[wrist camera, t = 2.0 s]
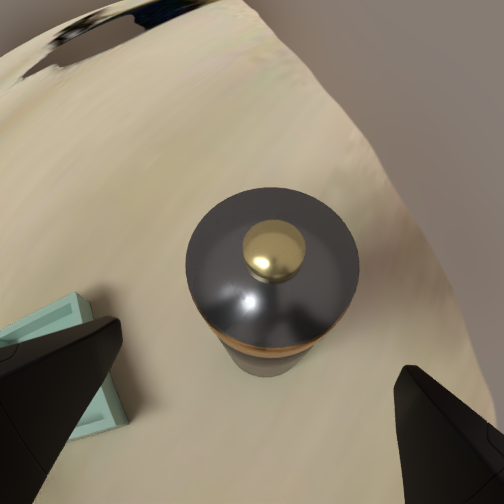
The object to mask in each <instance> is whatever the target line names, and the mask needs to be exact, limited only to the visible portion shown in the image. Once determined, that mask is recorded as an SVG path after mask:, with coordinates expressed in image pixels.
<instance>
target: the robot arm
mask: <svg viewBox="0 0 504 504" xmlns="http://www.w3.org/2000/svg"><path fill="white" fill-rule="evenodd" d="M122 342H123V338H122V330H121V322H120V320H119V319H118V318H116V317H112V316H105V317H102V318H98V319H95V320H92V321H89V322H85V323H82V324H79V325H76V326H72V327H69V328H66V329H62V330H59V331H56V332H53V333H49V334H46V335H43V336H39V337H36V338H33V339H29V340H26V341H22V342H20V343H15V344H12V345H9V346H5V347H1V348H0V504H32V503H33V502H34V500H35V498H36V496H37V494H38V492H39V490H40V489H41V487H42V485H43V483H44V481H45V479H46V478H47V475H48V474H49V472H50V470H51V468H52V467H53V465H54V463H55V461H56V459H57V458H58V456H59V454H60V453H61V451H62V449H63V447H64V446H65V444H66V442H67V441H68V439H69V437H70V436H71V434H72V432H73V431H74V429H75V427H76V426H77V424H78V422H79V421H80V419H81V417H82V416H83V414H84V412H85V411H86V409H87V408H88V406H89V404H90V403H91V401H92V400H93V398H94V396H95V395H96V393H97V392H98V390H99V388H100V387H101V385H102V384H103V382H104V380H105V378H106V376H107V375H108V372H109V370H110V368H111V366H112V364H113V362H114V360H115V358H116V356H117V354H118V352H119V350H120V348H121V346H122ZM394 405H395V422H396V434H397V441H398V447H399V454H400V462H401V470H402V478H403V487H404V498H405V504H504V434H502V433H501V432H500V431H498V430H497V429H496V428H495V427H493V426H492V425H491V424H490V423H487V421H486V420H485V419H483V418H482V417H481V416H480V415H478V414H477V413H476V412H475V411H473V410H472V409H471V408H470V407H468V406H467V405H466V404H465V403H463V402H462V401H461V400H460V399H458V398H457V397H456V396H455V395H453V394H452V393H451V392H450V391H448V390H447V389H446V388H445V387H443V386H442V385H441V384H440V383H438V382H437V381H436V380H435V379H433V378H432V377H431V376H429V375H428V374H427V373H426V372H424V371H423V370H422V369H421V368H419V367H418V366H416V365H405V366H404V367H403V368H402V370H401V372H400V374H399V376H398V379H397V381H396V383H395V385H394Z"/></svg>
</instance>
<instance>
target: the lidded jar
mask: <svg viewBox="0 0 504 504" xmlns="http://www.w3.org/2000/svg"><path fill="white" fill-rule="evenodd" d="M186 276H187V282H188V286H189V290H190V293H191V296H192V299H193V301H194V303H195V305H196V307H197V309H198V310H199V312H200V313H201V315H202V317H203V318H204V320H205V321H206V323H207V324H208V325H209V327H210V328H211V330H212V331H213V332H214V333H215V334H216V335H217V337H218V338H219V340H220V341H221V343H222V344H223V346H224V347H225V349H226V350H227V352H228V353H229V355H230V356H231V358H232V359H233V361H234V362H235V363H236V364H237V365H238V366H239V367H240V368H241V369H242V370H243V371H245V372H247V373H249V374H251V375H254V376H258V377H274V376H278V375H280V374H283V373H285V372H286V371H288V370H289V369H291V368H292V367H293V366H294V365H295V364H296V363H297V362H298V361H299V360H300V359H301V358H302V357H303V356H304V355H305V354H306V353H307V352H308V351H309V350H310V349H311V348H312V347H313V345H314V344H316V343H317V342H318V341H320V340H321V339H322V338H323V337H324V336H325V335H326V334H327V333H328V332H329V331H330V330H331V329H332V328H333V327H334V326H335V325H336V323H337V322H338V321H339V320H340V319H341V318H342V316H343V315H344V313H345V312H346V310H347V309H348V307H349V305H350V302H351V300H352V298H353V295H354V293H355V291H356V287H357V283H358V278H359V257H358V251H357V248H356V245H355V241H354V239H353V237H352V235H351V233H350V231H349V229H348V228H347V226H346V225H345V223H344V222H343V221H342V219H341V218H340V217H339V216H338V215H337V214H336V213H335V212H334V211H333V210H332V209H331V208H329V207H328V206H327V205H325V204H324V203H323V202H321V201H319V200H317V199H316V198H314V197H312V196H309V195H307V194H305V193H302V192H299V191H295V190H290V189H286V188H257V189H252V190H247V191H244V192H241V193H238V194H235V195H233V196H231V197H229V198H227V199H225V200H224V201H222V202H220V203H219V204H217V205H216V206H215V207H214V208H212V209H211V210H210V211H209V212H208V213H207V214H206V215H205V216H204V217H203V219H202V220H201V221H200V223H199V224H198V225H197V227H196V229H195V230H194V232H193V234H192V237H191V239H190V242H189V245H188V249H187V253H186Z"/></svg>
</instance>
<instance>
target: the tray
mask: <svg viewBox="0 0 504 504" xmlns="http://www.w3.org/2000/svg"><path fill="white" fill-rule="evenodd" d="M92 320H94V319H93V315H92V311H91V307H90V303H89V301H88V300H86V299H85V298H83V297H82V296H81V295H79V294H78V293H77V292H74V293H72V294H70V295H68V296H66V297H64V298H62V299H60V300H58V301H56V302H54V303H52V304H50V305H48V306H46V307H44V308H42V309H40V310H38V311H36V312H34V313H32V314H30V315H29V316H27V317H25V318H23V319H21V320H19V321H17V322H15V323H13V324H11V325H9V326H7V327H6V328H4V329H2V330H0V348H1V347H5V346H9V345H12V344H15V343H20V342H22V341H26V340H29V339H33V338H36V337H39V336H43V335H46V334H49V333H53V332H56V331H59V330H62V329H66V328H69V327H72V326H76V325H79V324H82V323H85V322H89V321H92ZM128 424H129V422H128V420H127V417H126V415H125V412H124V410H123V407H122V405H121V402H120V400H119V397H118V394H117V392H116V389H115V386H114V384H113V381H112V378H111V375H110V372H108V375H107V376H106V378H105V380H104V382H103V384H102V385H101V387H100V388H99V390H98V392H97V393H96V395H95V396H94V398H93V400H92V401H91V403H90V404H89V406H88V408H87V409H86V411H85V412H84V414H83V416H82V417H81V419H80V421H79V422H78V424H77V426H76V427H75V429H74V431H73V432H72V434H71V436H70V437H69V439H68V441H67V442H70V441H74V440H78V439H82V438H85V437H89V436H93V435H96V434H99V433H103V432H106V431H109V430H113V429H116V428H119V427H122V426H125V425H128ZM67 442H66V443H67Z"/></svg>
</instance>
